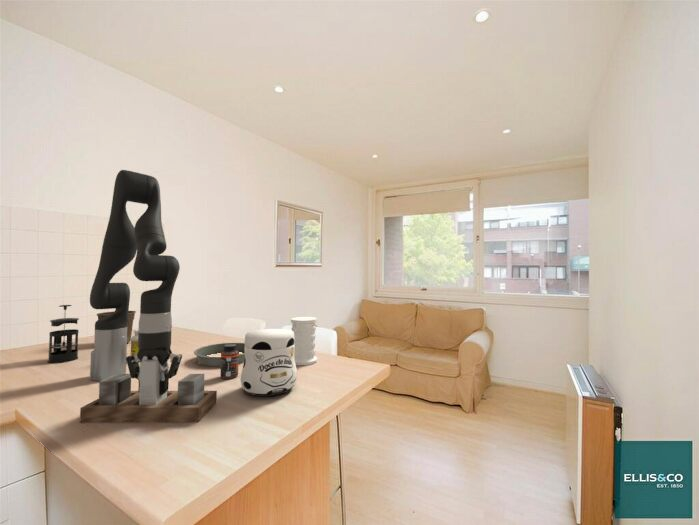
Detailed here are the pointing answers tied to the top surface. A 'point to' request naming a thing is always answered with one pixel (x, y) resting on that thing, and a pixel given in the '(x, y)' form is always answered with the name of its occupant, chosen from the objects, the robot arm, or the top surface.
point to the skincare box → (150, 383)
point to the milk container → (269, 362)
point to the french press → (69, 353)
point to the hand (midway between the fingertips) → (153, 393)
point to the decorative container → (304, 340)
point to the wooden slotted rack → (125, 408)
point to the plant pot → (129, 324)
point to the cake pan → (215, 349)
